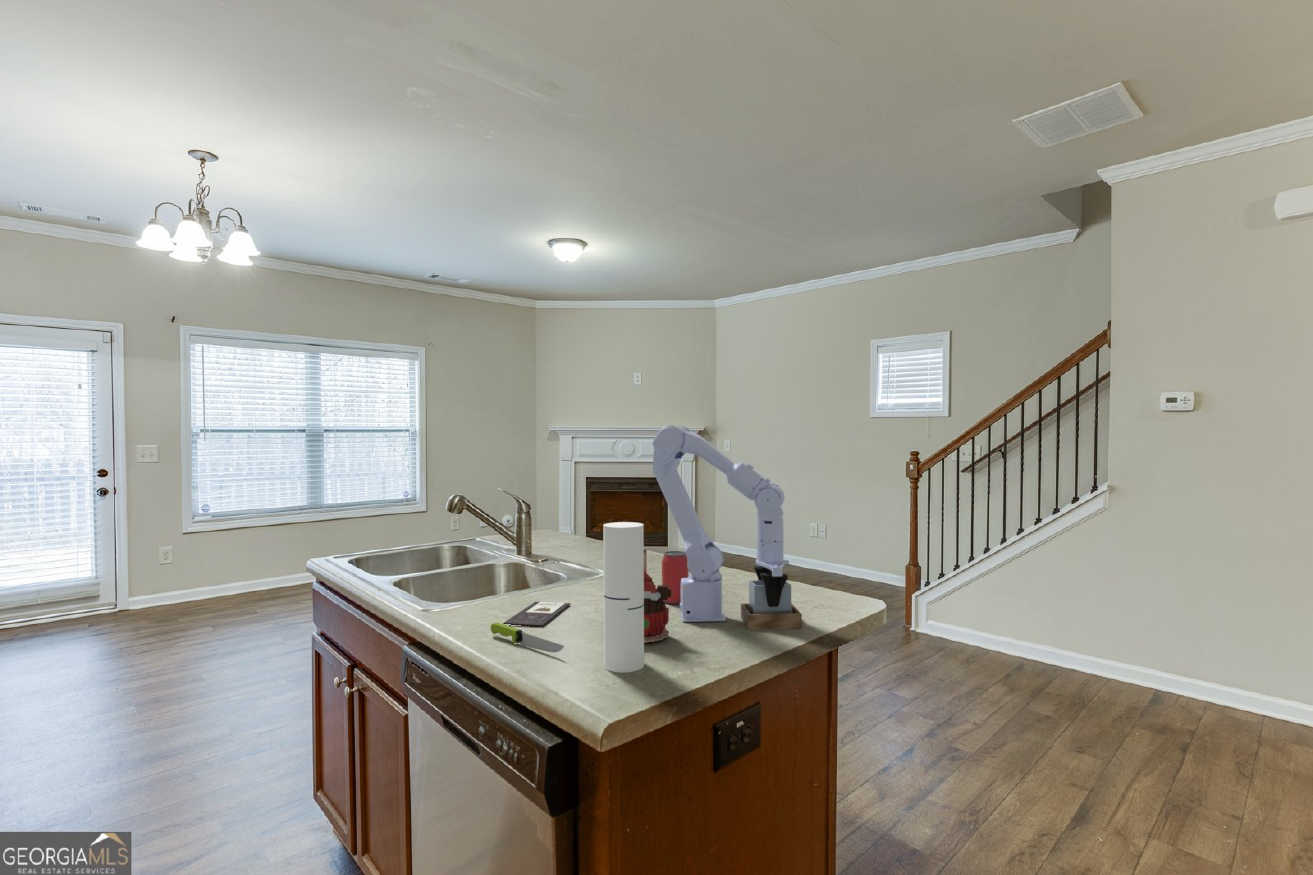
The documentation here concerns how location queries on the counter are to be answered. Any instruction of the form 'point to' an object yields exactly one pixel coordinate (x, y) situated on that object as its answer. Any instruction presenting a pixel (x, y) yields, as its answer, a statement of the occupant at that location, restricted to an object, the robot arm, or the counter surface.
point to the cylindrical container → (623, 596)
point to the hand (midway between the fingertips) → (770, 602)
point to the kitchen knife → (525, 638)
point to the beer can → (674, 574)
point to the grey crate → (760, 601)
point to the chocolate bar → (537, 614)
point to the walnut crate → (771, 619)
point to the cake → (654, 608)
